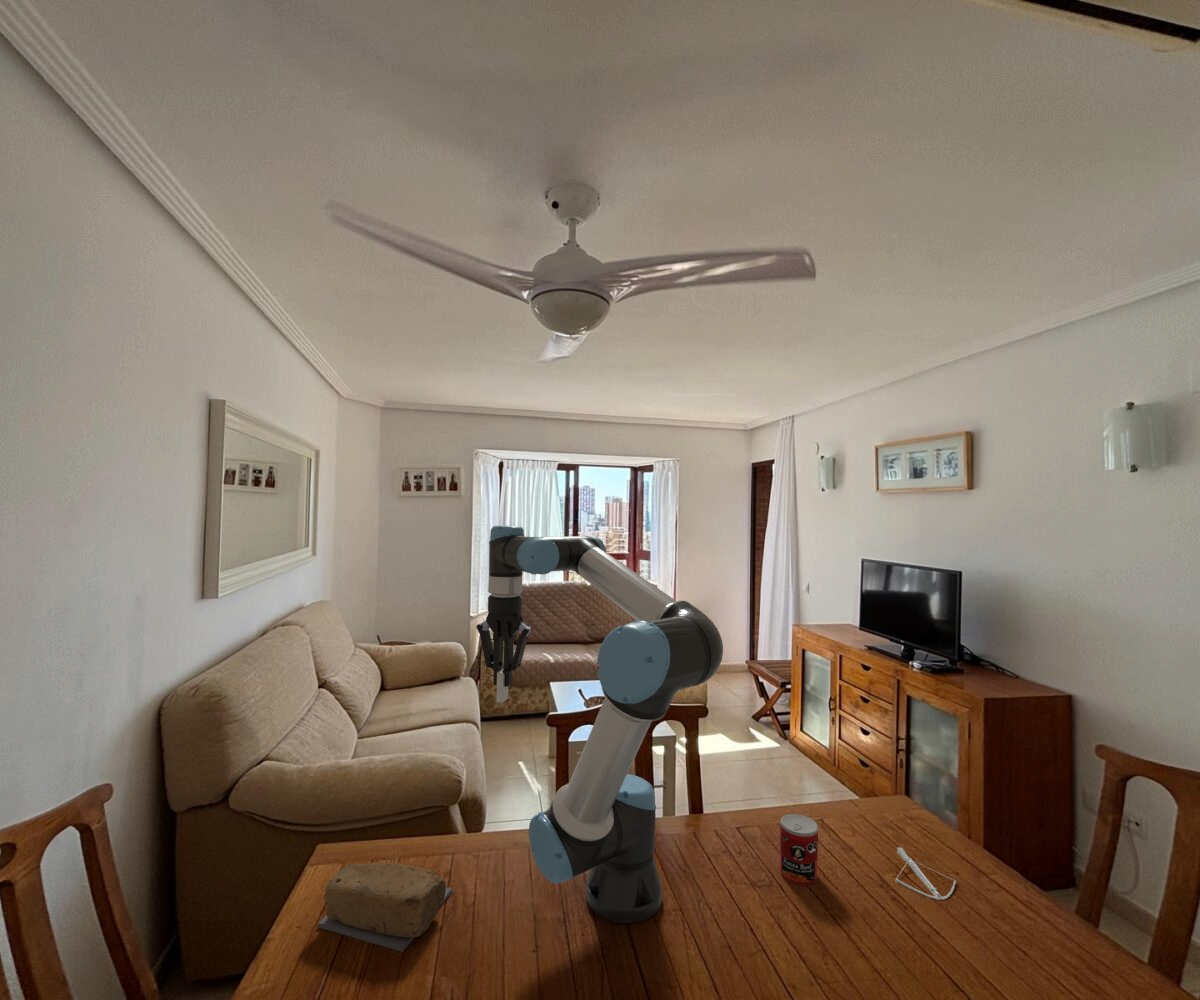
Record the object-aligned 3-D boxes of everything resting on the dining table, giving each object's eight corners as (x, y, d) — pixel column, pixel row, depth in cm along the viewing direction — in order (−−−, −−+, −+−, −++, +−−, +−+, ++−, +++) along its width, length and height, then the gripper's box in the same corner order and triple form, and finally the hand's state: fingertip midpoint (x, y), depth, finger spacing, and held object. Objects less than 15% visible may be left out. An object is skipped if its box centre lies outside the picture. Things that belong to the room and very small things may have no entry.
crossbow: (971, 907, 115) (971, 897, 115) (909, 905, 116) (909, 895, 115) (926, 854, 131) (927, 845, 131) (872, 852, 132) (872, 844, 131)
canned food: (778, 880, 120) (779, 828, 120) (781, 859, 127) (782, 810, 128) (816, 890, 117) (817, 837, 117) (817, 868, 125) (818, 818, 125)
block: (418, 903, 98) (319, 884, 103) (418, 947, 98) (319, 926, 103) (449, 865, 109) (358, 850, 114) (448, 904, 109) (357, 887, 113)
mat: (452, 892, 114) (452, 888, 114) (402, 951, 98) (402, 947, 98) (376, 873, 119) (376, 870, 119) (318, 927, 103) (318, 922, 103)
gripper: (538, 594, 129) (535, 698, 128) (486, 590, 133) (483, 691, 132) (525, 598, 122) (521, 709, 121) (470, 594, 125) (467, 701, 125)
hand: (502, 700), depth 127 cm, fingers closed
